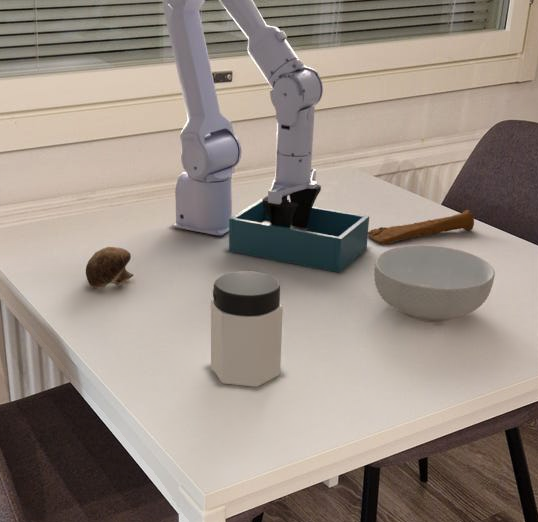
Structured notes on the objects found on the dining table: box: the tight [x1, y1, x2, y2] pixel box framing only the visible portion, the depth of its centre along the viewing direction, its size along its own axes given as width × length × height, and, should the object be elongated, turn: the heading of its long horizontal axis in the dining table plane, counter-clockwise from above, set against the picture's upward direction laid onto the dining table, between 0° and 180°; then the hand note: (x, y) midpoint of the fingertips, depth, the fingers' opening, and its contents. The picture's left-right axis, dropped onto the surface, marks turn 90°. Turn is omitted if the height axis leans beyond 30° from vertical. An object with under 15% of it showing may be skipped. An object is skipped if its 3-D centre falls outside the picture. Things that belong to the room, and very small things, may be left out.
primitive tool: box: [368, 209, 475, 245], centre depth 167 cm, size 19×6×4 cm, turn 112°
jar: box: [210, 270, 284, 388], centre depth 119 cm, size 9×8×12 cm
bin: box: [228, 197, 370, 273], centre depth 159 cm, size 20×13×6 cm, turn 64°
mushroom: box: [85, 246, 134, 289], centre depth 144 cm, size 8×8×6 cm
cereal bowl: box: [373, 244, 496, 323], centre depth 138 cm, size 17×17×7 cm
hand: (290, 235), depth 160 cm, fingers open, 7 cm apart
